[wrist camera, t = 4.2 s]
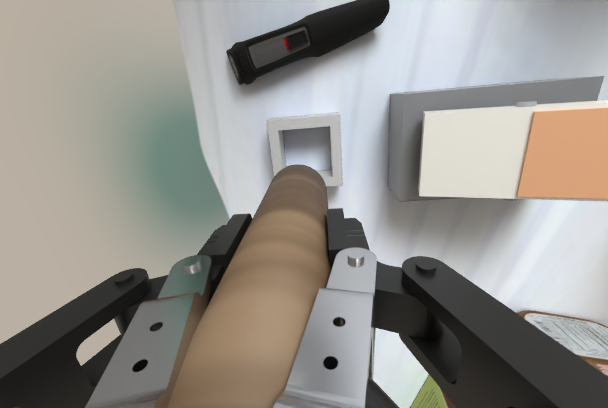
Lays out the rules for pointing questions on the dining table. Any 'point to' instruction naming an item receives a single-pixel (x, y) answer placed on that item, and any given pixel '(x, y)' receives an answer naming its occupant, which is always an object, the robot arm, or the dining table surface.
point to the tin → (575, 336)
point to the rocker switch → (517, 152)
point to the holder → (308, 121)
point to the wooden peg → (261, 301)
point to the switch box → (412, 104)
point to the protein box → (431, 396)
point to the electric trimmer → (305, 38)
